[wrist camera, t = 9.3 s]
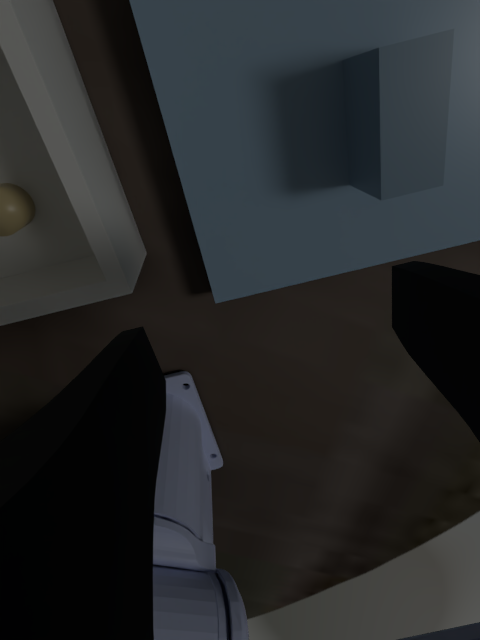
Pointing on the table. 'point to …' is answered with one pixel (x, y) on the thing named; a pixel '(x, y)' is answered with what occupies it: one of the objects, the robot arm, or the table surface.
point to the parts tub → (55, 178)
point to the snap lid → (318, 131)
